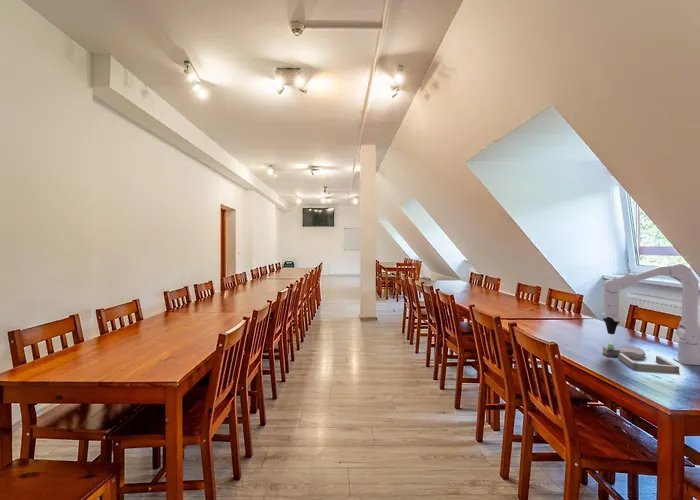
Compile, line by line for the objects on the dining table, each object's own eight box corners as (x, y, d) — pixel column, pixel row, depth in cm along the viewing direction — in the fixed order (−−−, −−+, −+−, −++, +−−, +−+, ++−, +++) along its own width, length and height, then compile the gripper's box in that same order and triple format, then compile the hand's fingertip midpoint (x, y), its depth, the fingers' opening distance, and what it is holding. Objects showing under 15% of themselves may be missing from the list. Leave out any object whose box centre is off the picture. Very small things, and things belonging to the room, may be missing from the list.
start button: (612, 352, 180) (612, 343, 180) (614, 353, 178) (614, 344, 178) (607, 351, 181) (607, 343, 181) (609, 353, 179) (609, 344, 178)
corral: (659, 361, 169) (660, 356, 169) (679, 373, 154) (679, 367, 154) (618, 358, 173) (618, 353, 173) (633, 369, 158) (633, 363, 158)
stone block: (643, 358, 179) (618, 351, 185) (646, 349, 179) (620, 341, 185) (643, 366, 170) (617, 357, 176) (646, 356, 169) (619, 348, 175)
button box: (614, 353, 181) (614, 347, 181) (619, 356, 176) (619, 350, 176) (602, 352, 182) (602, 346, 182) (606, 355, 178) (606, 349, 178)
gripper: (596, 302, 187) (596, 329, 187) (607, 307, 173) (607, 336, 173) (613, 303, 185) (612, 330, 185) (625, 308, 171) (625, 337, 171)
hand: (611, 333), depth 179 cm, fingers closed
